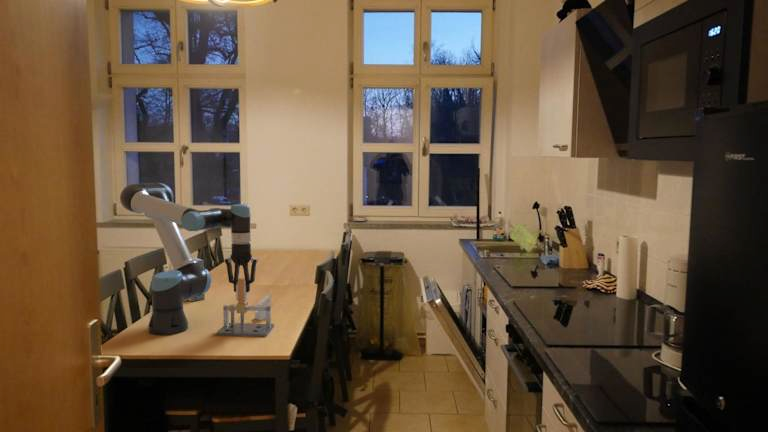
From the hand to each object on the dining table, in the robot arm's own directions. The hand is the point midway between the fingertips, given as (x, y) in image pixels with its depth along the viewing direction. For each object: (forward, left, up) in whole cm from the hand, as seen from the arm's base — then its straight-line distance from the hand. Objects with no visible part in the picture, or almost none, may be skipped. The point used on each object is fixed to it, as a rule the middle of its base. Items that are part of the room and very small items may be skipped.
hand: (242, 299), depth 223 cm
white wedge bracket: (+4, +17, -13) cm, 22 cm away
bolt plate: (+2, -2, -13) cm, 13 cm away
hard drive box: (-41, +49, -13) cm, 65 cm away
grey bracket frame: (+2, 0, -11) cm, 11 cm away
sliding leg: (0, 0, -11) cm, 11 cm away
